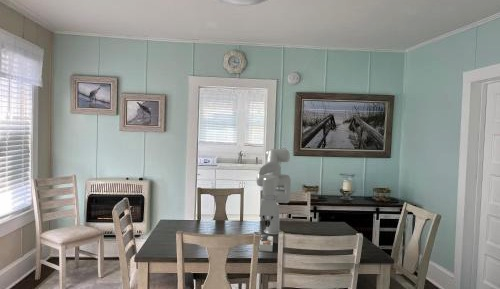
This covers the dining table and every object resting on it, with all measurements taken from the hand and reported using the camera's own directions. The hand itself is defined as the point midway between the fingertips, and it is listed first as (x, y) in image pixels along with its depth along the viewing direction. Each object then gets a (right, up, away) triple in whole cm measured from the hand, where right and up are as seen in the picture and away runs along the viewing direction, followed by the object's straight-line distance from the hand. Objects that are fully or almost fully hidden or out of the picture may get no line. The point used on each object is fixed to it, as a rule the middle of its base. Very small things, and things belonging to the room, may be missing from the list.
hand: (267, 226), depth 237 cm
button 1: (-3, -12, +13) cm, 18 cm away
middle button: (-2, -10, +6) cm, 12 cm away
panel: (-2, -14, +6) cm, 16 cm away
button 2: (-1, -13, 0) cm, 13 cm away
